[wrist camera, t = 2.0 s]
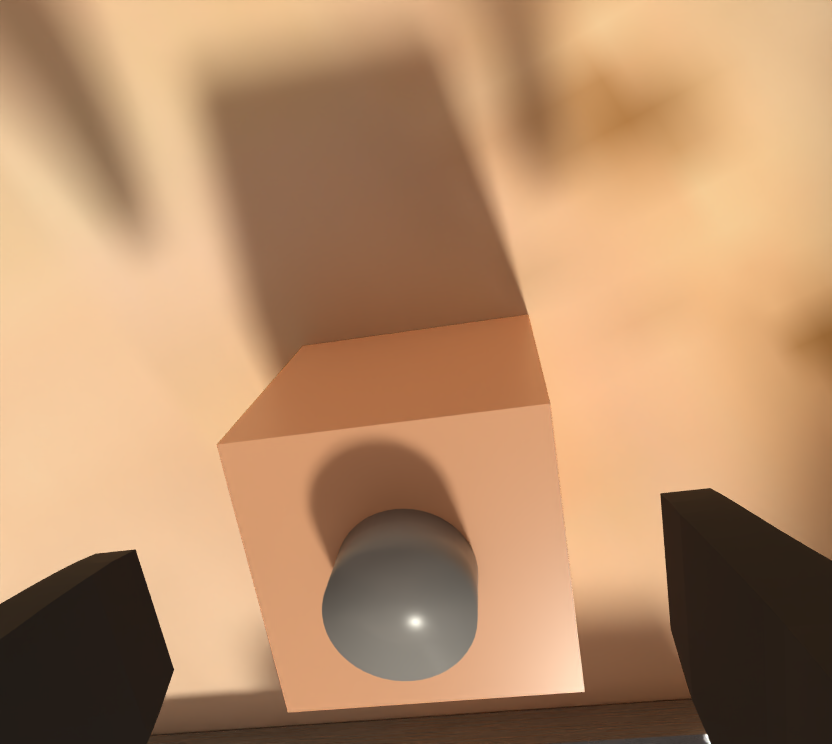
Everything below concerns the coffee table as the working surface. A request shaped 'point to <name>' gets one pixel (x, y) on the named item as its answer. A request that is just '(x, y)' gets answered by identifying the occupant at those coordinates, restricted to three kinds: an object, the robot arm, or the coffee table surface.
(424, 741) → the motor mount
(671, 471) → the coffee table surface
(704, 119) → the coffee table surface
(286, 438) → the cube with grey knob
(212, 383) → the coffee table surface
